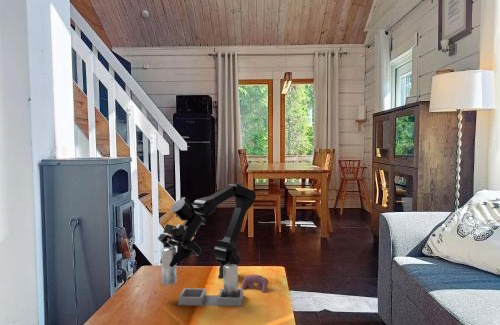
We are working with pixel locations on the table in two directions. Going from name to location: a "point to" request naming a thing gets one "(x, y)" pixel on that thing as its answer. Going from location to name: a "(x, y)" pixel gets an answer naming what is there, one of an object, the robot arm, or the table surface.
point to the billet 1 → (168, 266)
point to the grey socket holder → (208, 298)
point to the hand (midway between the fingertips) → (165, 264)
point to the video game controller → (255, 279)
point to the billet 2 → (230, 280)
